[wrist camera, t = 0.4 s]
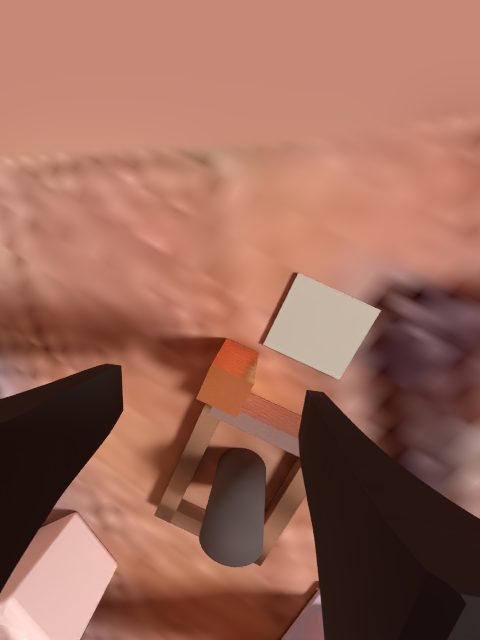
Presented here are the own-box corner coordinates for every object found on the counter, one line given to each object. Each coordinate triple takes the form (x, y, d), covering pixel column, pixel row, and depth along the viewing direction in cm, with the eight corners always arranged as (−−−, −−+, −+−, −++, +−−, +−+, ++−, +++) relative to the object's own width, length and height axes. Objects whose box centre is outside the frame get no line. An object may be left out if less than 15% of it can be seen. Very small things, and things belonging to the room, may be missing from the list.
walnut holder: (261, 551, 24) (260, 565, 23) (159, 503, 25) (154, 515, 23) (325, 449, 21) (328, 460, 20) (209, 394, 21) (205, 402, 20)
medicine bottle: (69, 583, 28) (-72, 808, 17) (26, 532, 28) (-154, 733, 16) (120, 563, 27) (3, 796, 15) (77, 509, 26) (-82, 713, 14)
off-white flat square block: (338, 377, 20) (339, 379, 20) (263, 343, 20) (263, 344, 20) (379, 309, 18) (380, 310, 18) (297, 272, 19) (298, 273, 18)
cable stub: (253, 496, 23) (246, 576, 17) (211, 476, 23) (190, 549, 17) (274, 461, 22) (274, 533, 16) (229, 440, 22) (213, 505, 16)
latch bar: (323, 442, 21) (337, 497, 16) (204, 387, 21) (184, 425, 16) (351, 396, 20) (376, 441, 15) (226, 338, 20) (211, 364, 15)
